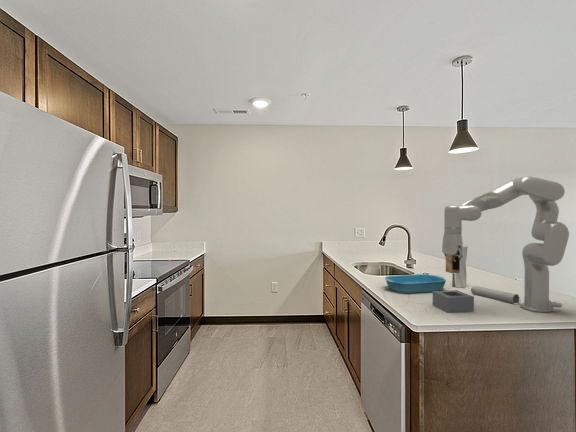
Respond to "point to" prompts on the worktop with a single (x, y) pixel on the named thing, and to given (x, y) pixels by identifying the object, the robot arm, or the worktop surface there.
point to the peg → (451, 264)
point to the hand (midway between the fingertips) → (452, 268)
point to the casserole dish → (415, 283)
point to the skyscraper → (461, 271)
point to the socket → (453, 301)
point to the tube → (495, 294)
